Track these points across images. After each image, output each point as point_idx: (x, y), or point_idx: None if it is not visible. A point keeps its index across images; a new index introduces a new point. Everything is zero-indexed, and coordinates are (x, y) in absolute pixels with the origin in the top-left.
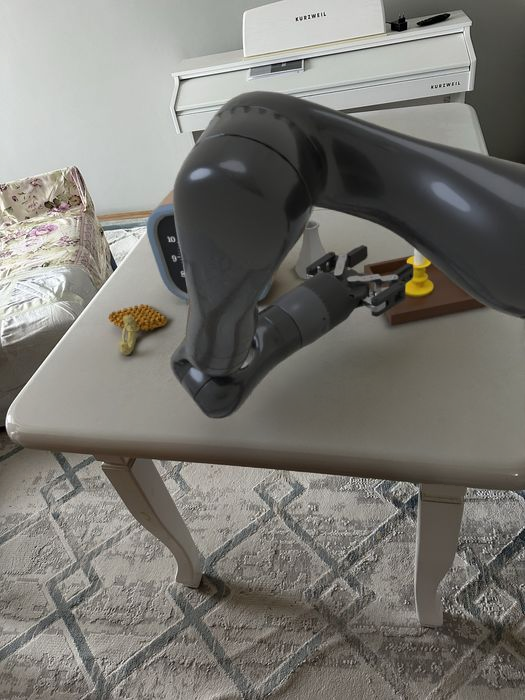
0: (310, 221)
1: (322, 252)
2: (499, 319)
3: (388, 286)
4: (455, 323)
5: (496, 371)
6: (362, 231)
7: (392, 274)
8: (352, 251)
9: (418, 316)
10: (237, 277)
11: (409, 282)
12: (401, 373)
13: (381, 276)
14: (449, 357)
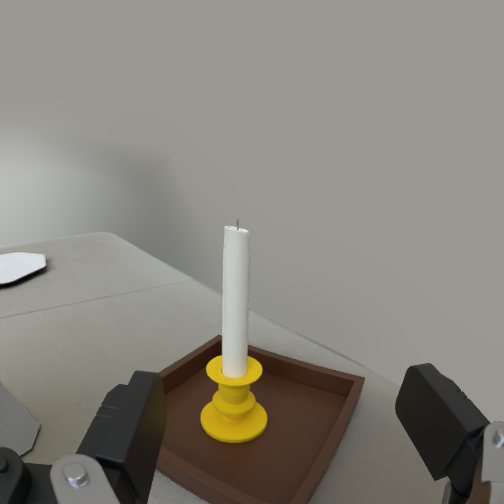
0: None
1: (2, 394)
2: (390, 401)
3: (176, 440)
4: (364, 446)
5: None
6: (60, 339)
7: (465, 436)
8: (112, 423)
9: (319, 480)
10: None
11: (212, 416)
12: None
13: (485, 478)
14: (440, 498)
